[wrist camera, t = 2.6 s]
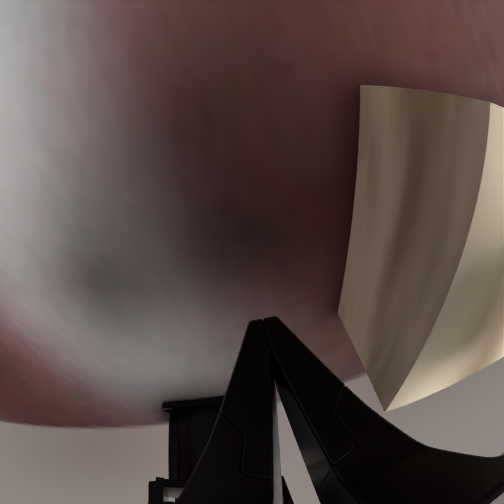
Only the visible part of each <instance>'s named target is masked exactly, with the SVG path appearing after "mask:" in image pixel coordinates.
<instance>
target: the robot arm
mask: <svg viewBox="0 0 504 504" xmlns="http://www.w3.org/2000/svg"><path fill="white" fill-rule="evenodd" d="M274 379H275V380H274ZM275 383H276V387H277V390H278V393H279V395H280V398H281V401H282V404H283V406H284V409H285V412H286V414H287V417H288V420H289V422H290V425H291V428H292V431H293V433H294V436H295V438H296V441H297V444H298V447H299V449H300V452H301V454H302V457H303V460H304V462H305V465H306V468H307V470H308V473H309V475H310V478H311V480H312V483H313V485H314V488H315V491H316V493H317V496H318V498H319V501H320V503H321V504H504V453H502V454H501V455H500V456H497V457H482V456H475V455H469V454H463V453H457V452H451V451H446V450H441V449H437V448H432V447H429V446H426V445H424V444H422V443H420V442H418V441H416V440H414V439H413V438H411V437H410V436H408V435H407V434H405V433H404V432H403V431H401V430H400V429H398V428H397V427H395V426H394V425H393V424H391V423H390V422H388V421H387V420H386V419H384V418H383V417H381V416H380V415H379V414H377V413H376V412H375V411H374V410H372V409H371V408H370V407H368V406H367V405H366V404H365V403H364V402H363V401H362V400H360V399H359V398H358V397H357V396H356V395H355V394H354V393H353V392H352V391H351V390H350V389H349V388H348V387H347V386H346V387H345V385H344V383H342V382H341V381H340V380H339V379H338V378H337V377H336V376H335V375H334V374H333V373H332V372H331V371H330V370H329V369H328V368H327V367H326V366H325V365H324V364H323V363H322V362H321V361H320V360H319V359H318V358H317V357H316V356H315V355H314V354H313V353H312V352H311V351H310V350H309V349H308V348H307V347H306V346H305V345H304V344H303V343H302V342H301V341H300V340H299V339H298V338H297V337H296V336H295V334H294V333H293V332H292V331H291V330H290V329H289V328H288V327H287V326H286V325H285V324H284V323H283V322H282V321H281V320H280V319H279V318H278V317H276V316H273V317H268V318H264V320H262V319H257V320H252V321H250V322H249V323H248V326H247V329H246V332H245V335H244V339H243V342H242V345H241V348H240V351H239V354H238V357H237V360H236V363H235V366H234V369H233V372H232V375H231V378H230V382H229V385H228V388H227V391H226V394H225V397H224V398H218V399H210V400H201V401H191V402H181V403H168V404H162V405H161V412H162V413H163V414H164V415H165V416H166V418H167V419H168V420H169V479H164V478H161V477H156V481H150V482H149V499H148V500H149V501H148V504H294V503H293V501H292V498H291V495H290V493H289V490H288V487H287V485H286V482H285V479H284V477H283V476H281V464H280V446H279V431H278V415H277V401H276V388H275ZM168 497H172V498H175V502H170V501H168Z"/></svg>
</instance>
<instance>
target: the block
mask: <svg viewBox="0 0 504 504" xmlns="http://www.w3.org/2000/svg"><path fill="white" fill-rule="evenodd" d="M338 315H339V317H340V319H341V321H342V323H343V325H344V327H345V329H346V331H347V333H348V335H349V337H350V339H351V341H352V343H353V345H354V347H355V349H356V351H357V353H358V355H359V357H360V360H361V362H362V364H363V366H364V368H365V370H366V372H367V374H368V377H369V378H370V381H371V383H372V385H373V387H374V389H375V392H376V394H377V396H378V398H379V401H380V403H381V405H382V407H383V409H384V411H385V412H387V411H390V410H393V409H396V408H398V407H401V406H404V405H406V404H409V403H412V402H414V401H417V400H419V399H421V398H424V397H426V396H429V395H431V394H433V393H435V392H438V391H440V390H442V389H444V388H446V387H448V386H450V385H452V384H455V383H457V382H459V381H461V380H463V379H465V378H466V377H468V376H470V375H472V374H474V373H476V372H478V371H479V370H481V369H483V368H485V367H486V366H488V365H490V364H492V363H493V362H495V361H497V360H498V359H500V358H502V357H503V356H504V108H503V107H500V106H498V105H496V104H493V103H491V102H487V101H482V100H478V99H474V98H469V97H464V96H459V95H453V94H447V93H441V92H435V91H427V90H420V89H411V88H401V87H389V86H372V85H360V121H359V145H358V161H357V175H356V187H355V197H354V207H353V216H352V225H351V233H350V240H349V248H348V255H347V261H346V268H345V274H344V280H343V286H342V292H341V297H340V303H339V308H338Z"/></svg>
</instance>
